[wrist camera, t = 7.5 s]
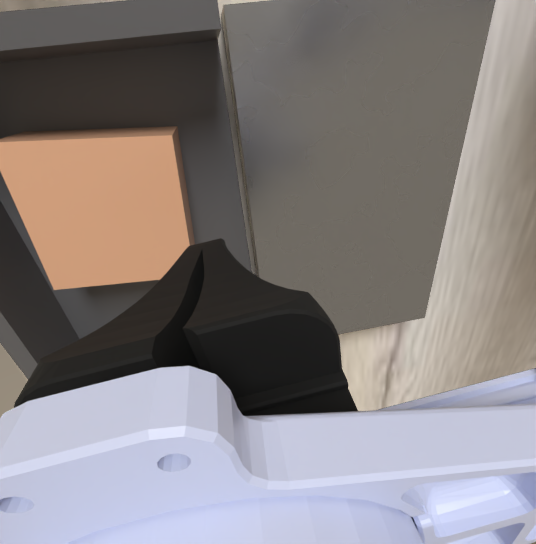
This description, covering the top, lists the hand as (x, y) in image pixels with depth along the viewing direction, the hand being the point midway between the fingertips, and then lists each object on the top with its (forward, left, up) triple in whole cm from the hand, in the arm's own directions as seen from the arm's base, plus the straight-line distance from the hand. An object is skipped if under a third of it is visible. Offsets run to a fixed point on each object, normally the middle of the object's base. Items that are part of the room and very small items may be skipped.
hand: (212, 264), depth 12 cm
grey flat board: (-7, 0, -5) cm, 9 cm away
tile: (+4, -2, -5) cm, 6 cm away
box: (+4, 0, -5) cm, 6 cm away
